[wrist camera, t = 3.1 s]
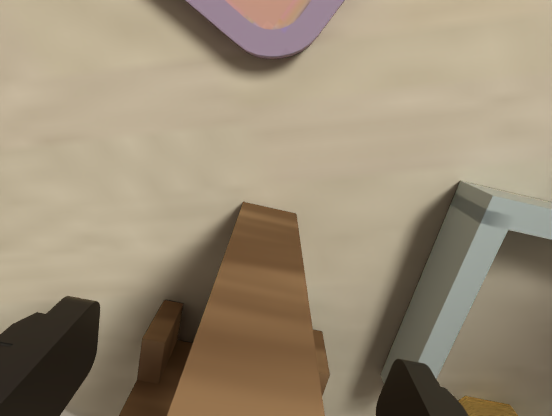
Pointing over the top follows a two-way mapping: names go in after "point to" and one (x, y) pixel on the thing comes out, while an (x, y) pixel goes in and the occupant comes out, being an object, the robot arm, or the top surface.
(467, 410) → the yellow wooden hexagonal block
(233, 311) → the wooden block stand
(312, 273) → the top surface
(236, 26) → the icon
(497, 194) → the grey u-shaped bracket
